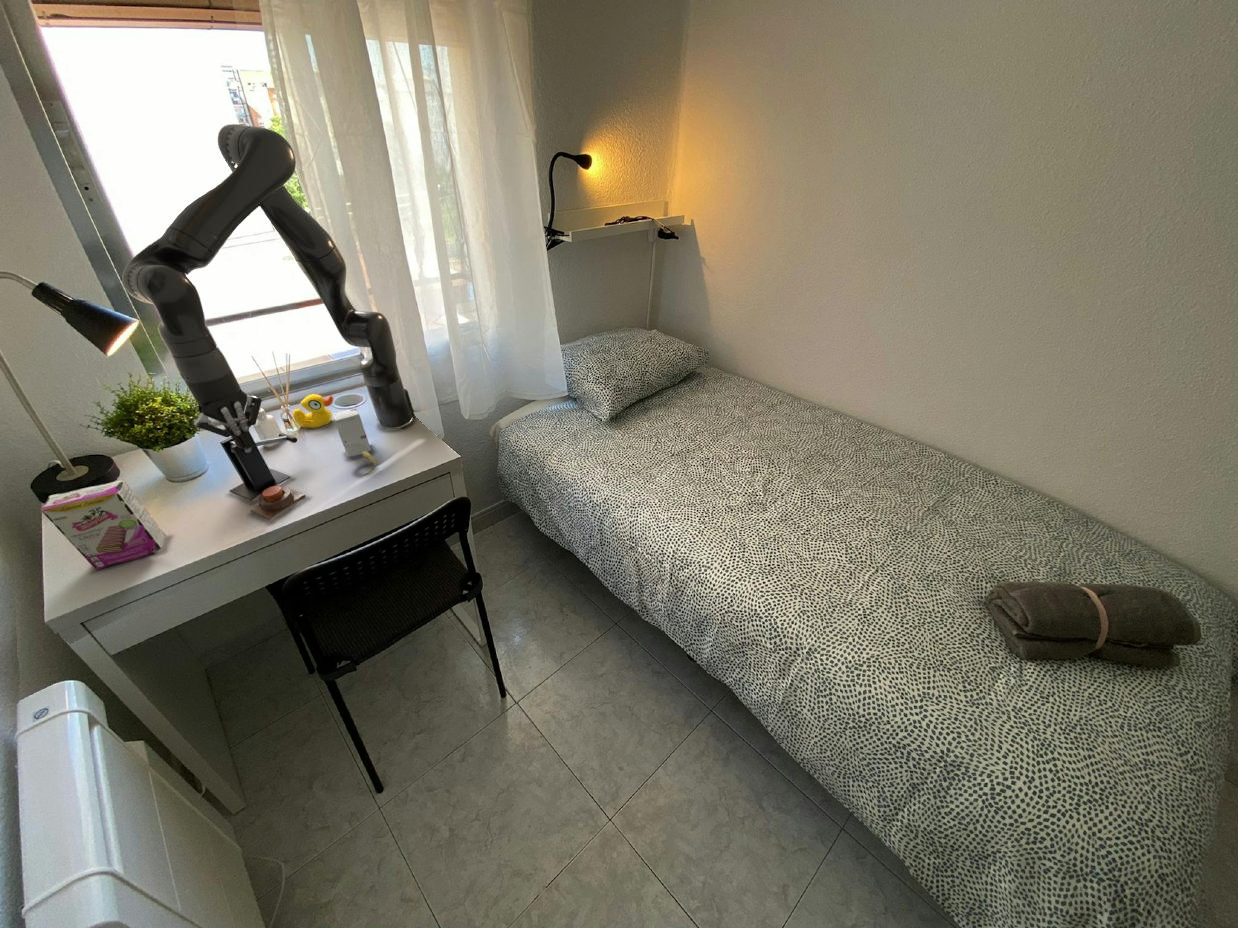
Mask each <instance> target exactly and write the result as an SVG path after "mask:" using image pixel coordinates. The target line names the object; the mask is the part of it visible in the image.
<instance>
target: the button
mask: <svg viewBox="0 0 1238 928" xmlns="http://www.w3.org/2000/svg"><path fill="white" fill-rule="evenodd" d="M280 487H281V486H279V485H276V486H272V487H269V488H267V489H265V490H264V491H263V496H264V498H265V499H266V501H274V500H277V499H279V498H281V497H282V496H283V495H284V493H283V491H282V489H281V488H280Z"/></svg>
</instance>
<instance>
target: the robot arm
mask: <svg viewBox="0 0 1238 928" xmlns="http://www.w3.org/2000/svg"><path fill="white" fill-rule="evenodd" d="M217 146H218V149H219V153H220V155H221V157H222V159H223V162H224V163H225V165H226V166H227V168H228V169H229V171H230V172H231V173H230V174H229V175H228V176H227V177H226V178H225V179H224V180H222V181H221V182H220V183H219V184H217V185H215V186H214V187H212V188H211V189H209V190H207V191H206V192H204V193H203V194H201V195H199V196H198V197H196V198H195V199H193V200H192V201H191V202H189V203H187V205H185V206H184V208H183V209H182V210H180V212H179V213H178V214H176V216H175V218H174V219H173V220H172V221H171V223H170V224H169V225H168V227H167V228H166V229H165V231H164V232H163V233H162V235H161V236H160V237H159V238H157V239H156V240H154V241H152V242H151V243H150V244H148V245H147V246H146V247H145V248H143V249H142V250H141V251H139V252H138V253H137V254H136V255H135V256H134V257H132V258H131V259H130V260H129V262H128V263H127V264H126V266H125V267H124V269H123V271H122V276H121V281H122V285H123V288H124V289H125V291H126V292H127V293H128V294H129V295H130V296H131V297H132V298H134V299H136V300H138V301H140V302H142V303H146V304H150V305H154V307H155V308H156V311H157V313H158V315H159V318H160V320H161V321H160V322H159V323H158V325H157V331H158V333H159V337H160V338H161V340H162V342H163V343H164V346H165V347H166V348H167V350H168V352H169V354H170V355H171V357H172V359H173V362H174V364H175V367H176V369H177V370H178V372H179V376H180V378H181V379H182V380H183V381H184V382H185V385H186V386H187V388H188V390H189V392H190V393H191V395H192V397H193V398H194V400H195V401H196V403H197V406H198V408H197V410H198V413H199V415H198V417H197V418H196V419H193V420H192V421H191V425H192V426H193V427H196V428H199V429H202V430H205V431H207V432H210V433H213V434H216V435H218V436H220V437H221V436H222V437H224V438H230V437H232V438H233V440H234V442H235V444H236V446H238V447H240V448H242V449H246V450H247V449H249V448H251V447H253V443H254V441H255V440H254V438H253V435H252V434H251V432H250V428H251V427H252V426H254V425H255V424H256V421H257V417H258V413H259V409H261V406H262V398H260V397H259V396H255V395H248V394H247V393H246V392H244V390H242V389H241V385H240V383H239V382H238V380H237V378H236V375H235V373H234V372H233V370H232V368H231V366H230V364H229V362H228V360H227V358H226V356H225V355H224V353H223V351H221V349H220V347H219V346H218V344H217V342H216V340H215V338H214V336H213V334H212V332H211V331H210V329H209V327H208V326H207V323H206V317H205V312H204V307H203V304H202V300H201V297H200V293H199V291H198V289H197V287H196V285H195V284H194V282H193V281H192V279H191V278H190V277H189V276H188V275H189V274H190V273H191V272H193V271H195V270H200V269H203V268H206V267H207V266H208V265H209V264H210V263H212V261H213V260H214V259H215V257H216V256H217V255H218V254H219V252H220V251H221V249H222V248H223V247H224V245H225V244H226V243H227V242H228V240H229V238H231V236H232V235H233V234H234V233H235V231H236V230H237V229H238V228H239V227H240V226H241V224H243V223H244V221H245V220H246V219H247V218H248V217H249V216H250V215H251V214H253V213H254V211H256V210H257V209H258V208H260V210H261V211H262V212H263V214H264V215H265V217H266V219H268V221H269V222H270V225H271V226H272V228H273V229H274V231H275V232H276V233H277V235H278V236H279V238H280V239H281V240H282V242H283V243H284V244H285V246H286V248H287V249H288V251H289V253H290V254H291V256H292V258H293V259H294V261H295V262H296V264H297V265H298V267H299V268H300V270H301V271H302V273H303V274H304V275H305V277H306V278H307V280H308V281H309V282H310V284H311V286H312V287H313V289H314V290H315V293H317V295H318V297H319V298H320V300H321V301H322V303H323V305H324V306H325V309H326V310H327V312H328V314H329V316H330V318H331V320H332V321H333V323H334V325H335V327H336V329H337V331H338V333H339V334H340V336H341V337H342V339H343V340H344V341H345V342H346V343H347V345H350V346H352V347H356V348H357V347H358V348H370V353H371V355H368V356H366V357H364V358H363V359H361V360H360V361H359V369H360V372H361V374H362V378H363V381H364V384H365V386H366V389H367V392H368V395H369V398H370V401H371V404H372V406H373V410H374V413H375V415H376V418H375V419H376V422H377V423H378V425H379V427H381V428H383V429H396V428H398V429H401V430H403V429H405V428H407V427H409V426H411V424H412V423H413V422H414V419H416V414H415V411H414V408H413V404H412V401H411V397H410V395H409V391H408V389H406V388H404V384H403V381H402V377H401V375H400V370H399V367H398V363H397V351H396V348H395V342H394V339H393V334H392V330H391V326H390V324H389V321H388V320H387V319H388V318H387V317H386V316H385V315H384V314H383V313H380V312H378V311H365V310H357V309H356V308H355V306H354V305H353V304H352V303H351V301H350V299H349V296H348V295H347V292H346V282H347V265H346V262H345V259H344V257H343V255H342V253H341V252H340V250H339V249H338V247H337V245H336V243H335V241H334V240H333V237H331V235H330V234H329V232H327V230H326V229H325V228H324V227H323V225H321V224H320V223H319V221H317V220H316V219H315V218H314V217H313V216H312V215H311V214H310V213H309V212H307V210H305V209H304V207H302V206H301V204H300V203H298V201H297V200H296V199H295V198H294V197H293V196H292V195H291V193H290V192H289V190H288V189H287V187H286V184H287V183H288V182H289V181H290V180H291V178H292V177H293V176H294V173H295V171H296V168H297V167H296V164H297V161H296V155H295V152H294V150H293V147H292V146H291V144H290V142H289V140H287V139H286V138H285V137H284V136H283V135H281V134H280V133H279V132H277V131H275V130H272V129H269V128H266V127H262V126H255V125H247V124H238V123H235V124H234V123H233V124H226V125H224V126H222V127H221V128H220V129H219V131H218V134H217ZM209 418H210V419H213V420H215V421H217V422H219V423H220V424H221V425H222V426H223V427H224V428H220V427H217V426H214V425H212V421H211V420H210V419H209Z"/></svg>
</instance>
